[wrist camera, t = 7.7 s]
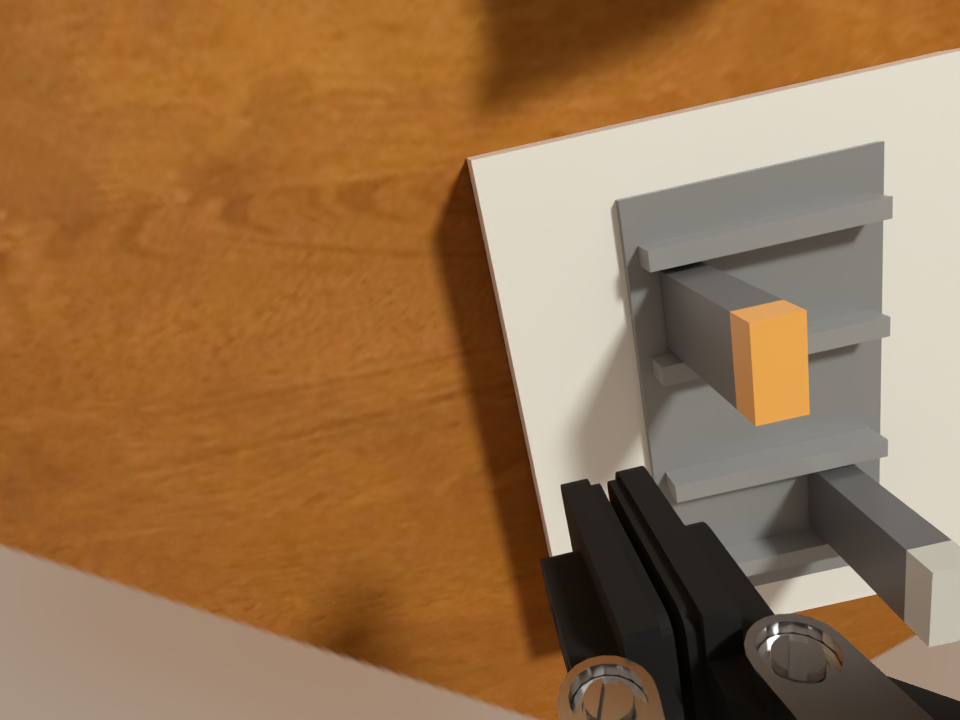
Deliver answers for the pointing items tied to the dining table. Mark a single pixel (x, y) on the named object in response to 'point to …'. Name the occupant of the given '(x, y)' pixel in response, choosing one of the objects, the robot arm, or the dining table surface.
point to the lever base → (781, 272)
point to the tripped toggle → (739, 341)
